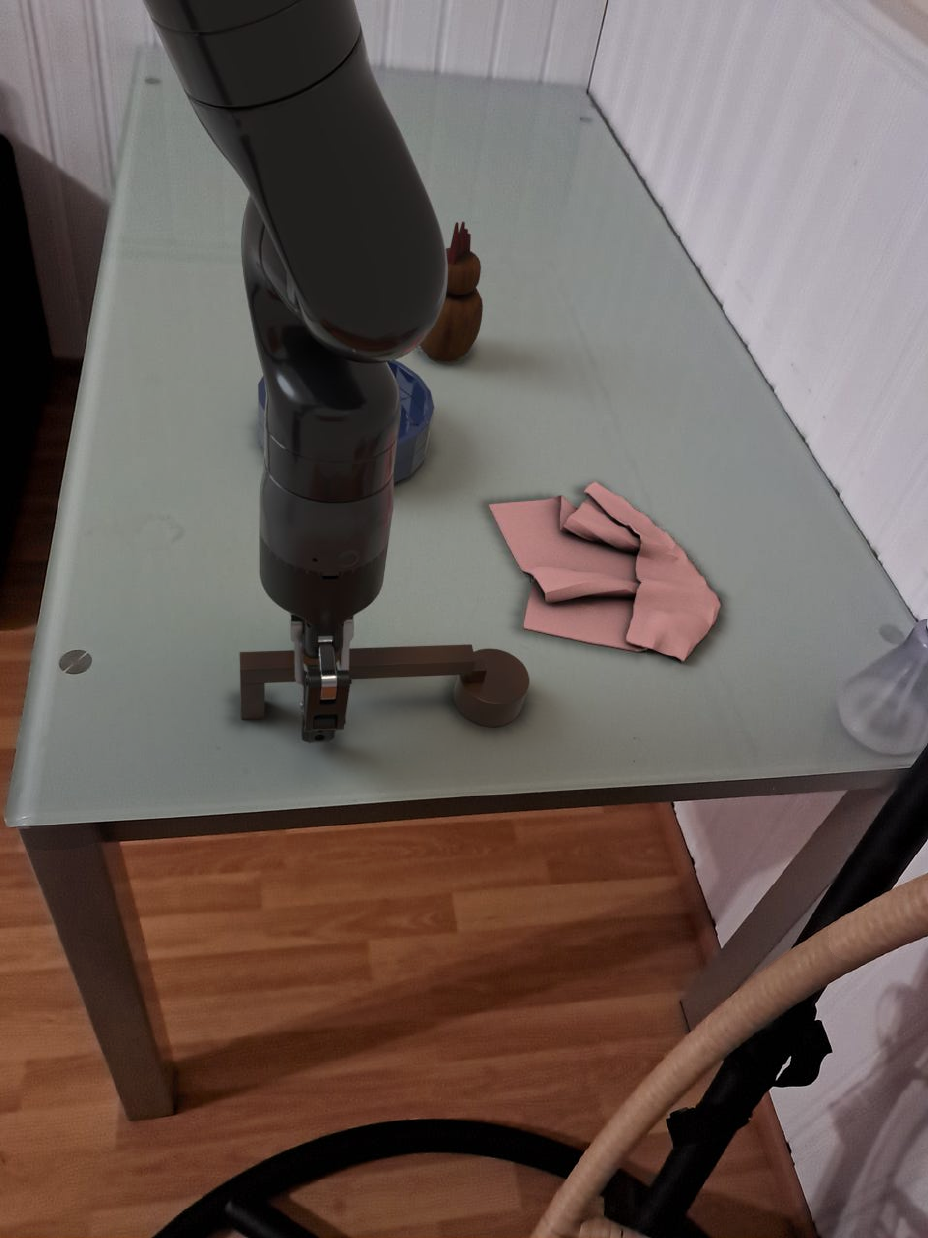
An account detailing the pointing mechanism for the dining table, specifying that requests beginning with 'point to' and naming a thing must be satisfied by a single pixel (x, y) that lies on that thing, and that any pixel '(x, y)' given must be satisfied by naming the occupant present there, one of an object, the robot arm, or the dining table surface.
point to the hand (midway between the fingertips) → (313, 696)
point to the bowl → (412, 420)
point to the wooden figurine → (457, 303)
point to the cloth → (607, 575)
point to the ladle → (480, 694)
